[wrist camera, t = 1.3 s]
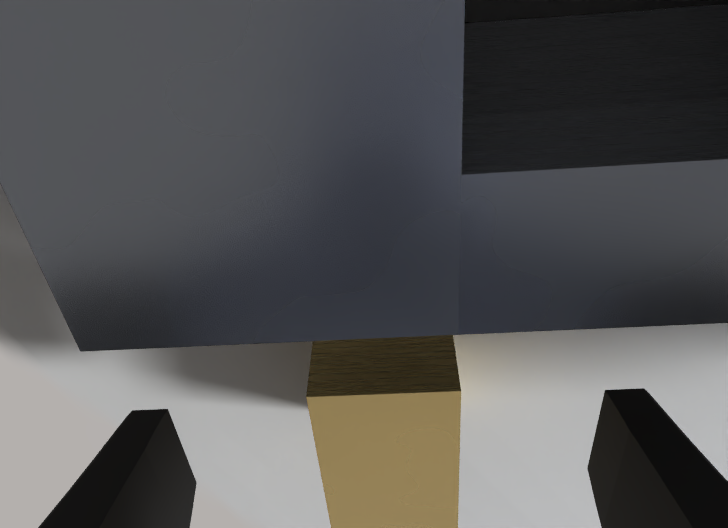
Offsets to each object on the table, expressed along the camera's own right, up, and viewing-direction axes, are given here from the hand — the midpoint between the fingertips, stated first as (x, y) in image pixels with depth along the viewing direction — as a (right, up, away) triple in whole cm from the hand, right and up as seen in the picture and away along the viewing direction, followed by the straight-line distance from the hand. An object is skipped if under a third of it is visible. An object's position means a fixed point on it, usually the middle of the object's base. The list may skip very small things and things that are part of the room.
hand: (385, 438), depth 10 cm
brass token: (0, +2, +2) cm, 3 cm away
